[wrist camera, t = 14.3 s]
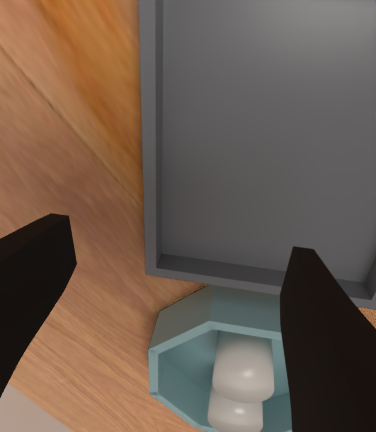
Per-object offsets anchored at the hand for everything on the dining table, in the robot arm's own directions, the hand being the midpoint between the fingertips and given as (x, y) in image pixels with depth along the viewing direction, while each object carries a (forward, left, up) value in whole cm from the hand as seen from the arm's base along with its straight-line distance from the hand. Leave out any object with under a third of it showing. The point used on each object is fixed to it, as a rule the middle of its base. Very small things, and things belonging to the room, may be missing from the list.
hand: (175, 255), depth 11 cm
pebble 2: (-4, +19, -9) cm, 21 cm away
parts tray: (-4, 0, -9) cm, 10 cm away
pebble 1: (-4, +14, -9) cm, 17 cm away
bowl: (-4, +17, -9) cm, 19 cm away
